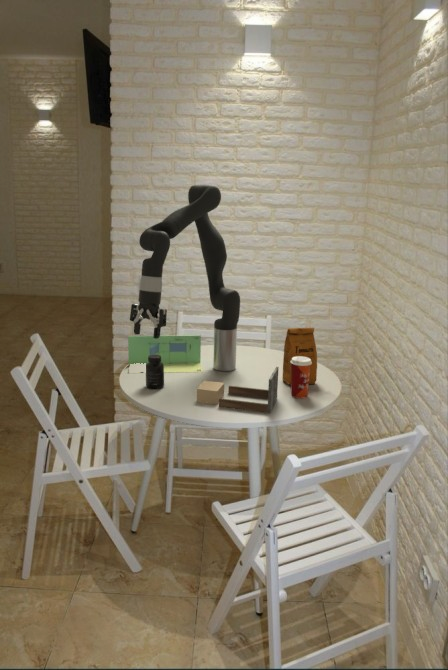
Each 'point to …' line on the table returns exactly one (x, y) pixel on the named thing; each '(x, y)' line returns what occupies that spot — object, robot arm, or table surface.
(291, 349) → the coffee package
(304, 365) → the paper cup
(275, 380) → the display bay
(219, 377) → the table surface
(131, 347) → the display stand
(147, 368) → the supplement bottle
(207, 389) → the carton
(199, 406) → the table surface
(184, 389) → the table surface
